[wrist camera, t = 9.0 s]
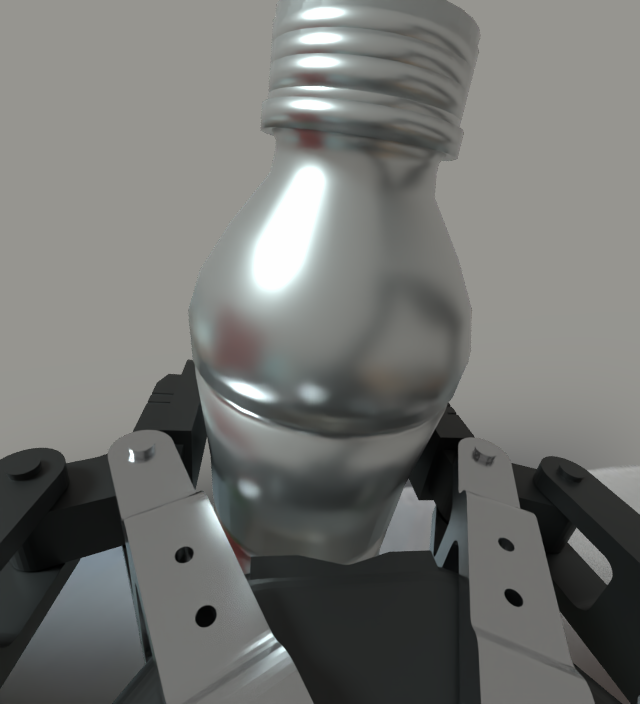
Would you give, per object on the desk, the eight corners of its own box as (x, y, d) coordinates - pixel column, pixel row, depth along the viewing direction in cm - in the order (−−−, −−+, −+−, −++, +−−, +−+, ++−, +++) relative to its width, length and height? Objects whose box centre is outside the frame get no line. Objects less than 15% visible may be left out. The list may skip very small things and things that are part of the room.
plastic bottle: (360, 588, 18) (504, 96, 9) (350, 797, 12) (738, -65, 3) (232, 558, 18) (256, 64, 10) (159, 743, 12) (54, -128, 4)
